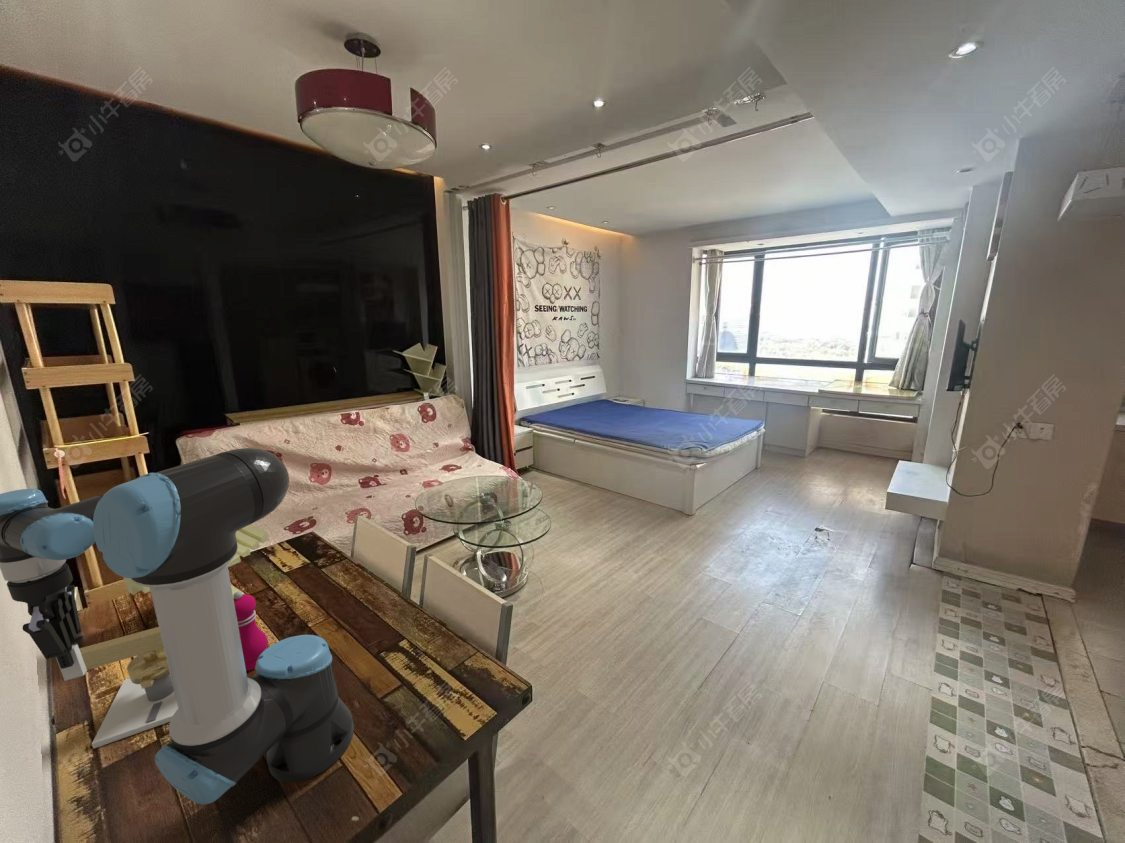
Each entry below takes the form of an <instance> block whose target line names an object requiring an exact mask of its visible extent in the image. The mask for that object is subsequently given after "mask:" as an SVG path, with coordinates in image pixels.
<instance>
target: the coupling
mask: <svg viewBox="0 0 1125 843" xmlns="http://www.w3.org/2000/svg"><path fill="white" fill-rule="evenodd" d="M79 650H80V652H81V655H82V658H83V661H84V663H85V666H86V669H87V671H89V670H92V669H96V668H98V667H101V666H106V665H109V664H113V663H116V662H119V661H122V660H126V659H130V658H132V657H133V659H132V660H131V661H130V662H129V663H128V665H127V666H126V670H127V673H128V677H129V678H130V679H131V682H132V683H134V684H141V687H142V689H143V688H146V687H149V686H152V684H153V682H154V680H157V679H159V678H161V677H163V676H164V675H166V674H168V673H169V667H168V663H167V659H166V655H165V651H164V646H163V642H162V638H161V634H160V630H159V626H156V627H153V628H150V629H149V628H148V629H145V630H142V631H137V632H135V633H131V634H127V635H124V636H121V637H117V638H112V639H109V640H105V641H102V642H98V643H94V644H91V645H87V646H83V647H79Z"/></svg>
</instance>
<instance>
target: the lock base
mask: <svg viewBox="0 0 1125 843" xmlns="http://www.w3.org/2000/svg"><path fill="white" fill-rule="evenodd" d="M177 709H178V705H177V701H176V697H175V693H174V688H173V684H172V680H171V676H170V672H169V673H168V674H166V675H164V676H163V677H161V678H159V679H157V680H154V682H153V684H152V686H149V687H146V688H143V689H142V687H141V684H134V683H132V682H131V679H130V677H129V678H126V679H123V681H122V683H121V685H120V688H119V689H118V692H117V693H116V696H115V697H114V700H112V704H111V705H110V707H109V708H108V711H107V713H106V715H105V717H104V719H103V721H102V723H101V725H100V726H99V729H98V730H97V733H96V734H95V736H94V739H93V741H92V743H91V746H92V748H93V749H97V748H100V747H103V746H105V745H109V744H111V743H114V742H117V741H119V740H122V739H125V738H128V737H131V736H133V735H135V734H138V733H139V734H140V733H142V732H144V731H147V730H148V731H149V730H150V729H153V728H155V727H159V726H161V725H165V724H167V723H170V721H171V719H172V717H173V715H174V713H175V712H176V710H177Z"/></svg>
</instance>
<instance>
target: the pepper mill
mask: <svg viewBox="0 0 1125 843" xmlns="http://www.w3.org/2000/svg"><path fill="white" fill-rule="evenodd" d="M240 591H241V590H240ZM240 591H238V592H235V593H234V595H233V597H234V598H233V599H234V605H235V611H236V616H237V622H238V628H239V634H240V639H241V645H242V651H243V657H244V662H245V668H246V672H248V671H252V670H255V666H256V662H257V660H258V657H259V656H260V654H261V653H262V652H263V651H264V650H265V649H267V648H268V645H269V639H268V636H267V635H266V633H265V632H263V630H261V629H260V628H259V626H258V625H257V622H256V618H257V613H256V610H255V609H256V607H257V602H256V598H254V596H252V595H251V594H242V592H243V591H242V592H240Z"/></svg>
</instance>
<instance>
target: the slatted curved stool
mask: <svg viewBox="0 0 1125 843" xmlns="http://www.w3.org/2000/svg"><path fill="white" fill-rule="evenodd" d="M236 541H237V547H238V548H237V553H236V555H235V557H234V558H233V559H232V560H231V561H230V562H229V563H228V564H227V565H228V568H230V567H232V566H235V565H236V564H239V563H241V562H242V560H241V557H242V558H245V557H248V556H250V555H251V550H252V551H254V550H256V549H259V548H261V546H260V543H262V544H264V543H266V542H268V541H270V538H269V534H268V531H265V530H264V529H262V528H259V527H257V526H254V525H253V524H250V525H248V526H246V527H244V528H242V529H240V530H238V531H236ZM122 578H123V581H124V584H125V588H126V590H127V591H128V593H130V594H131V595H132V596H134V595H136V594H138V593H139V592H143V594H147V593H149V592H150V588H149V587H145V586H141V585H138V584H136V583H134V582H133V581H132V580H131V578H125V577H122ZM231 588H232V594H233V595H234V593H235V592H238V591H240V592H242V594H245V593H244V592H243V591H241V590H240V589H239V588H237V587H236V586H234V585H233V584H231ZM150 593H151V592H150ZM233 598H234V597H233Z"/></svg>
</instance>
